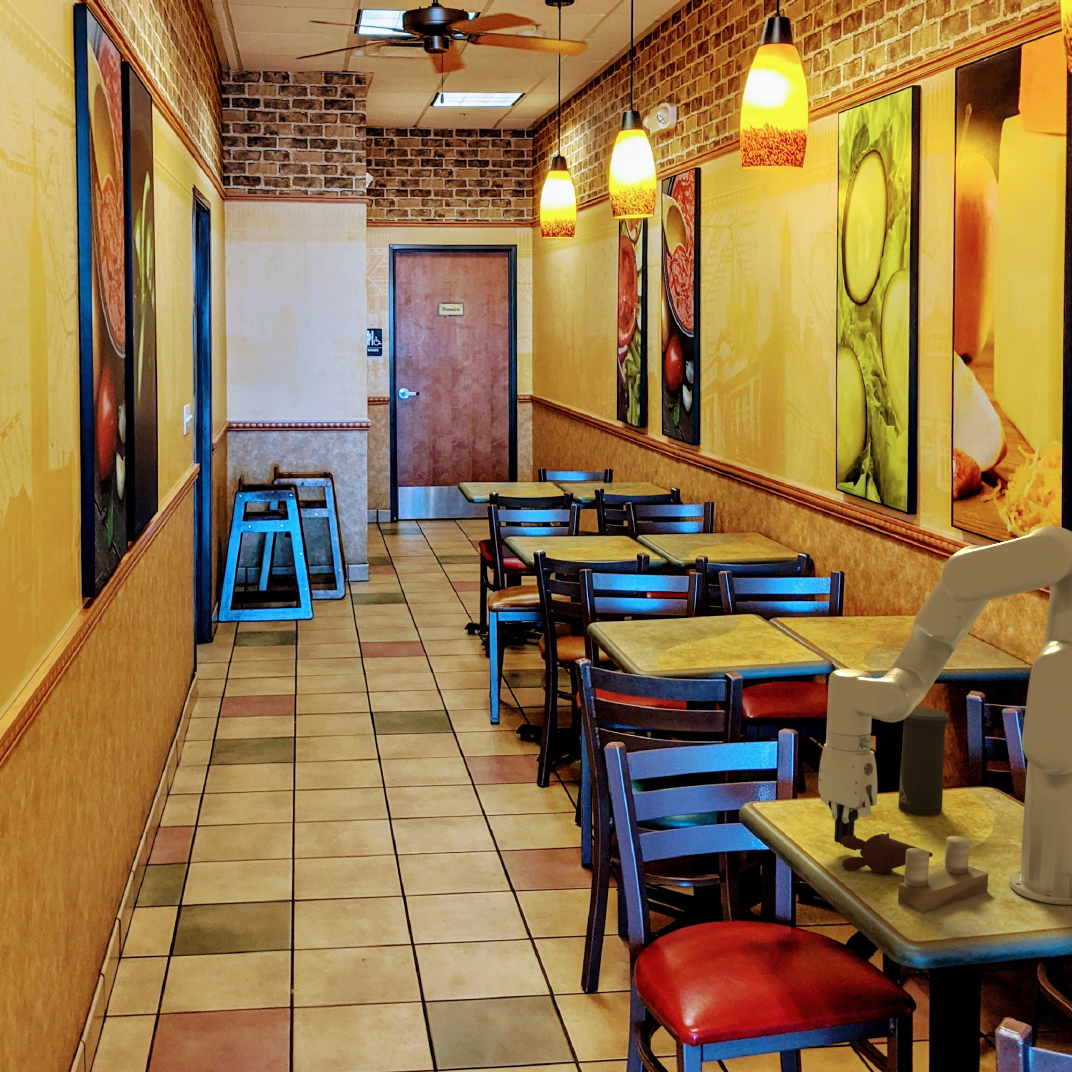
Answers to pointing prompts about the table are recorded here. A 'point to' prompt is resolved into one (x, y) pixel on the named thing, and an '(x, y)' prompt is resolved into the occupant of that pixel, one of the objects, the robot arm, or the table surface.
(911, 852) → the rail
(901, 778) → the container
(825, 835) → the table surface
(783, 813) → the table surface
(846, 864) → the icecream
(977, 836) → the table surface
